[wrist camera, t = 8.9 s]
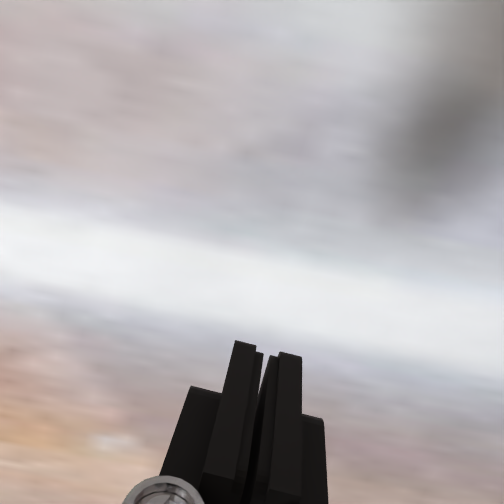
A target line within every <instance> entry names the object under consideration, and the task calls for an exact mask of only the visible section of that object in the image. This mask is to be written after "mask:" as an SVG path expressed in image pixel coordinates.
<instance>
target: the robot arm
mask: <svg viewBox="0 0 504 504" xmlns="http://www.w3.org/2000/svg"><path fill="white" fill-rule="evenodd" d="M263 355H264V354H263V353H260V352H256V345H253V344H249V343H245V342H241V341H237V340H235V343H234V347H233V351H232V355H231V359H230V363H229V367H228V371H227V375H226V379H225V383H224V387H223V391H222V393H218V392H214V391H210V390H206V389H202V388H198V387H194V386H191V387H190V389H189V392H188V394H187V397H186V400H185V403H184V406H183V409H182V411H181V414H180V417H179V420H178V423H177V426H176V429H175V432H174V434H173V437H172V440H171V443H170V446H169V449H168V452H167V454H166V457H165V460H164V463H163V466H162V469H161V472H160V474H159V476H155V477H152V478H148V479H145V480H144V481H142V482H140V483H139V484H137V485H136V486H135V487H134V488H133V489H132V490H131V491H130V492H129V494H128V495H127V496H126V498H125V500H124V501H123V503H122V504H328V487H327V469H326V450H325V432H324V421H323V419H321V418H317V417H313V416H309V415H305V414H302V357H300V356H296V355H292V354H288V353H284V352H279V355H278V357H276V356H272V355H270V357H269V360H268V363H267V367H266V370H265V374H264V377H263V381H262V384H261V387H260V391H259V384H260V377H261V369H262V362H263ZM258 391H259V394H258Z"/></svg>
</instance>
